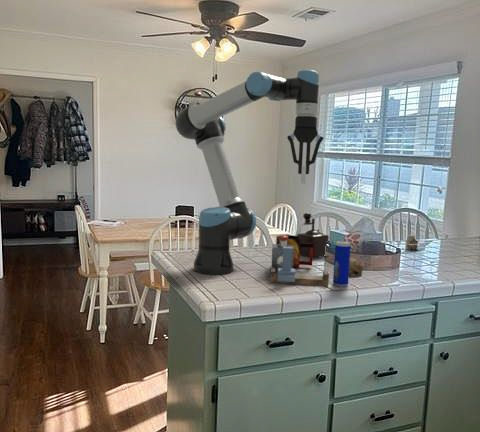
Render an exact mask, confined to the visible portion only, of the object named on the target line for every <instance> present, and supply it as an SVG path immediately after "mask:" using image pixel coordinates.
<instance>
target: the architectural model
mask: <svg viewBox="0 0 480 432" xmlns="http://www.w3.org/2000/svg"><path fill="white" fill-rule="evenodd" d="M405 245H406V246H405V247H406V248H405V250H407V249H408V250H413V251H414V250H418V245H421V243H419V240H417V239H416V234H413V235H411V234H410V235H409V234H408V235H407V236H406V242H405Z"/></svg>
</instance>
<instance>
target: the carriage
mask: <svg viewBox="0 0 480 432" xmlns="http://www.w3.org/2000/svg"><path fill="white" fill-rule="evenodd" d="M291 258H292V247H285V246H283V264H282V268H278V281H287V282H295V274H296V269H291Z"/></svg>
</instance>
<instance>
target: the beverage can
mask: <svg viewBox="0 0 480 432" xmlns="http://www.w3.org/2000/svg"><path fill="white" fill-rule="evenodd" d="M334 246H335V247H334V263H333V277H332V278H333V279H332V283H333V285H335V286H338V287H346V286H348V285H349V279H350V278H349V277H350V276H349V262H350V258H351V247H352V246H351V243H350V241H345V240H338V241H336V242H335V244H334Z"/></svg>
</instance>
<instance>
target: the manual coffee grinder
mask: <svg viewBox="0 0 480 432" xmlns="http://www.w3.org/2000/svg"><path fill="white" fill-rule="evenodd" d="M302 217H303V219H304V220H305V221H304V223H303V225H304V226H307V225H311V229H309V230H307V231H306V232H303V233H297V234H296V236H299V237H301V243H313V255H312V256H313V259H315V258H316V259H317V258H322V257H325V256H324V255H325V246H326V242H327V241H328V242H329V238H330V237H329V236H330V235H327V234H325V233H322V232H320V229H315V223H316V222H315V218H312V214H311V213H310V212H305V213H303V214H302ZM311 218H312V219H311ZM300 256H303V257H307V258H310V248H309V247H300Z"/></svg>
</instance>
